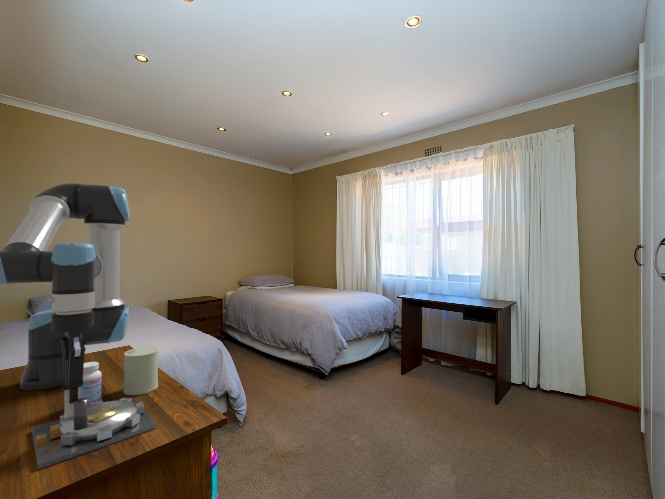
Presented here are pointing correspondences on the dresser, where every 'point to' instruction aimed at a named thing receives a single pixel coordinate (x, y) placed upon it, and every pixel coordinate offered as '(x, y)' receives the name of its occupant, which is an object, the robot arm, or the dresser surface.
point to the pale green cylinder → (140, 370)
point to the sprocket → (96, 420)
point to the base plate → (54, 452)
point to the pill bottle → (91, 382)
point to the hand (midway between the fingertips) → (72, 415)
